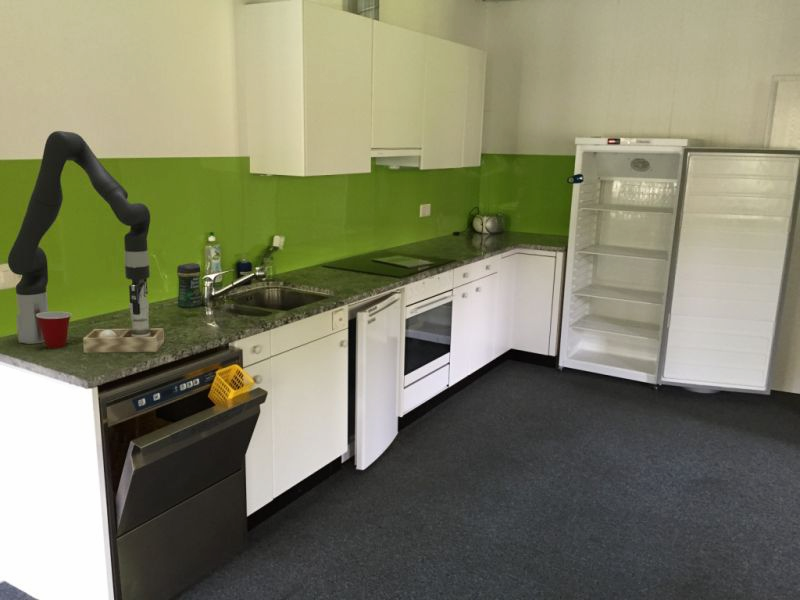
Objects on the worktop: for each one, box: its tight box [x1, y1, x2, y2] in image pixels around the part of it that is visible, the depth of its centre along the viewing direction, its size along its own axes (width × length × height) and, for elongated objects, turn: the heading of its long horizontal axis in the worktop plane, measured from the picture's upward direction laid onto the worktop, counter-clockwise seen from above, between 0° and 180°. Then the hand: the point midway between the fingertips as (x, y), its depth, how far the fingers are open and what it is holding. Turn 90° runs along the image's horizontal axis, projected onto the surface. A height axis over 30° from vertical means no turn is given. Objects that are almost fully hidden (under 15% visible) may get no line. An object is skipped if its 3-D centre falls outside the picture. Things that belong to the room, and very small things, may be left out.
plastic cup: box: [36, 311, 73, 349], centre depth 228 cm, size 11×11×12 cm
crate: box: [82, 327, 165, 354], centre depth 228 cm, size 23×12×6 cm, turn 98°
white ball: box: [98, 330, 117, 338], centre depth 227 cm, size 6×6×6 cm
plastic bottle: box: [128, 289, 151, 337], centre depth 227 cm, size 6×7×20 cm
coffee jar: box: [176, 262, 203, 309], centre depth 290 cm, size 10×8×19 cm
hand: (139, 311), depth 227 cm, fingers open, 8 cm apart
